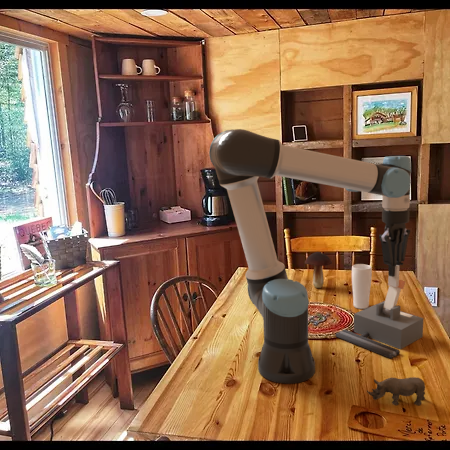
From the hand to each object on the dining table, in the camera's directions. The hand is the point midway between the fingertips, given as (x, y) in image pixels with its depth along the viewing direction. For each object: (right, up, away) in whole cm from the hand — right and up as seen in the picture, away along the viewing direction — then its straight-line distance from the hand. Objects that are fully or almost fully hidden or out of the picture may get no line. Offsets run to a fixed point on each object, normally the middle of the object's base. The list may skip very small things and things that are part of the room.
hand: (393, 285), depth 135 cm
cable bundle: (-8, -17, -3) cm, 19 cm away
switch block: (-1, -15, +2) cm, 16 cm away
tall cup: (-2, -11, +25) cm, 27 cm away
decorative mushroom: (-13, -7, +46) cm, 49 cm away
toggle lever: (-1, -8, +1) cm, 8 cm away
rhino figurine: (-12, -23, -32) cm, 41 cm away
